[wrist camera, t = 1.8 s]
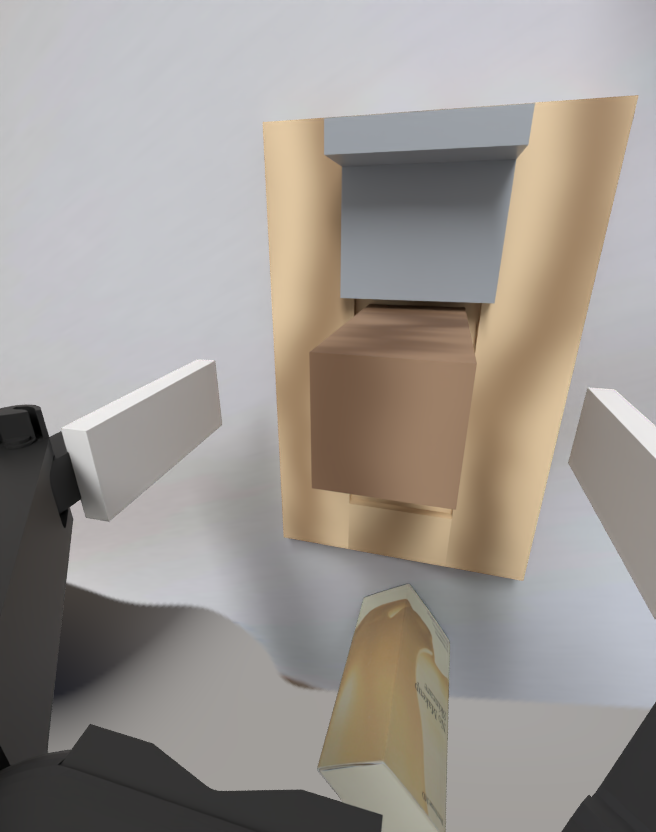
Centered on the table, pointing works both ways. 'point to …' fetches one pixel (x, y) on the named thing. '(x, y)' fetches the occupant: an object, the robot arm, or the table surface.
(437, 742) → the skincare box
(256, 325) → the table surface
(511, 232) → the puzzle board
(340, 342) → the walnut block
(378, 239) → the slide cover
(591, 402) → the robot arm
